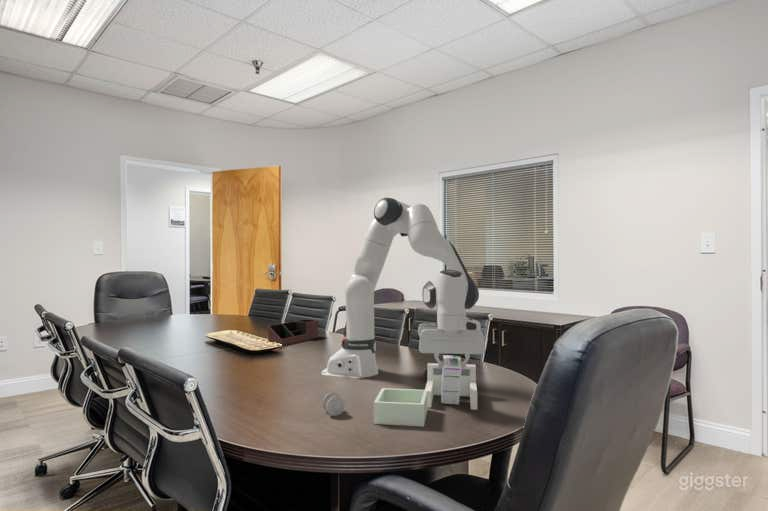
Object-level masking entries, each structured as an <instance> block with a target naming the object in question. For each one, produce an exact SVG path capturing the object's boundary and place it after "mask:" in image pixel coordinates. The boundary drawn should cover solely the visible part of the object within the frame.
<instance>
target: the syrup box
mask: <svg viewBox="0 0 768 511" xmlns="http://www.w3.org/2000/svg"><path fill="white" fill-rule="evenodd" d="M442 356H443V358H442V361H443V368H442V386H441V395H440V402H441V404H447V405H458V406H459V404H460V397H461V396H460V383H461V368H462V367H461V362H462V356H460V355H459V356H458V355H451V354H449V355H448V354H447V355H446V354H445V355H444V354H443V355H442Z"/></svg>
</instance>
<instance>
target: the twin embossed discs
mask: <svg viewBox="0 0 768 511" xmlns="http://www.w3.org/2000/svg"><path fill="white" fill-rule="evenodd" d="M345 404H346V403H345V400H344V399H343V398H342V397H340V395H339V394H338V393H335V392H334V391H331V392H328V393H327V394H326V395H325V396H324V398H323V400H322V407H323V409H324V410H325V411H326V412H327V413H328V414H329V415H330V416H339V415H341V414H342V413H343V412H344V410H345V407H346V405H345Z"/></svg>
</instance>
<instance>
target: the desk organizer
mask: <svg viewBox="0 0 768 511" xmlns="http://www.w3.org/2000/svg"><path fill="white" fill-rule="evenodd" d="M318 338H319V320H317V319H309V318H308V319H307V318H306V319H305V318H304V319H298V320H293V321H287V322H280V323H276V324H270V325H269V324H268V325H267V342H268V341H270V342H276V343H280V344H282V346H281V347H278V348H279V350H283V349H282V348H283V347H285V346H288V345H293V344H294V345H295V344H298V343H301V342H305V341H309V340H314V339H318Z"/></svg>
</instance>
